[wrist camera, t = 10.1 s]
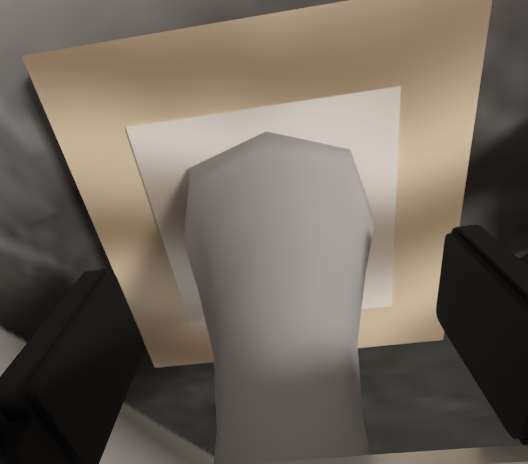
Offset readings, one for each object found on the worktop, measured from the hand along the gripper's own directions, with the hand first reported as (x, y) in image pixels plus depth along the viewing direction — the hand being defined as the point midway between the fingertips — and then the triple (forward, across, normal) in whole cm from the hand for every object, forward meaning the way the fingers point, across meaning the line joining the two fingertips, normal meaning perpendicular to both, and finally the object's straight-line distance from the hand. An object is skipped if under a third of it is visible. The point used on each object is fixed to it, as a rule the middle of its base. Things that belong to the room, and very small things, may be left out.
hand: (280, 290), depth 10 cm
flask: (+4, 0, 0) cm, 4 cm away
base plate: (+5, 0, 0) cm, 5 cm away
